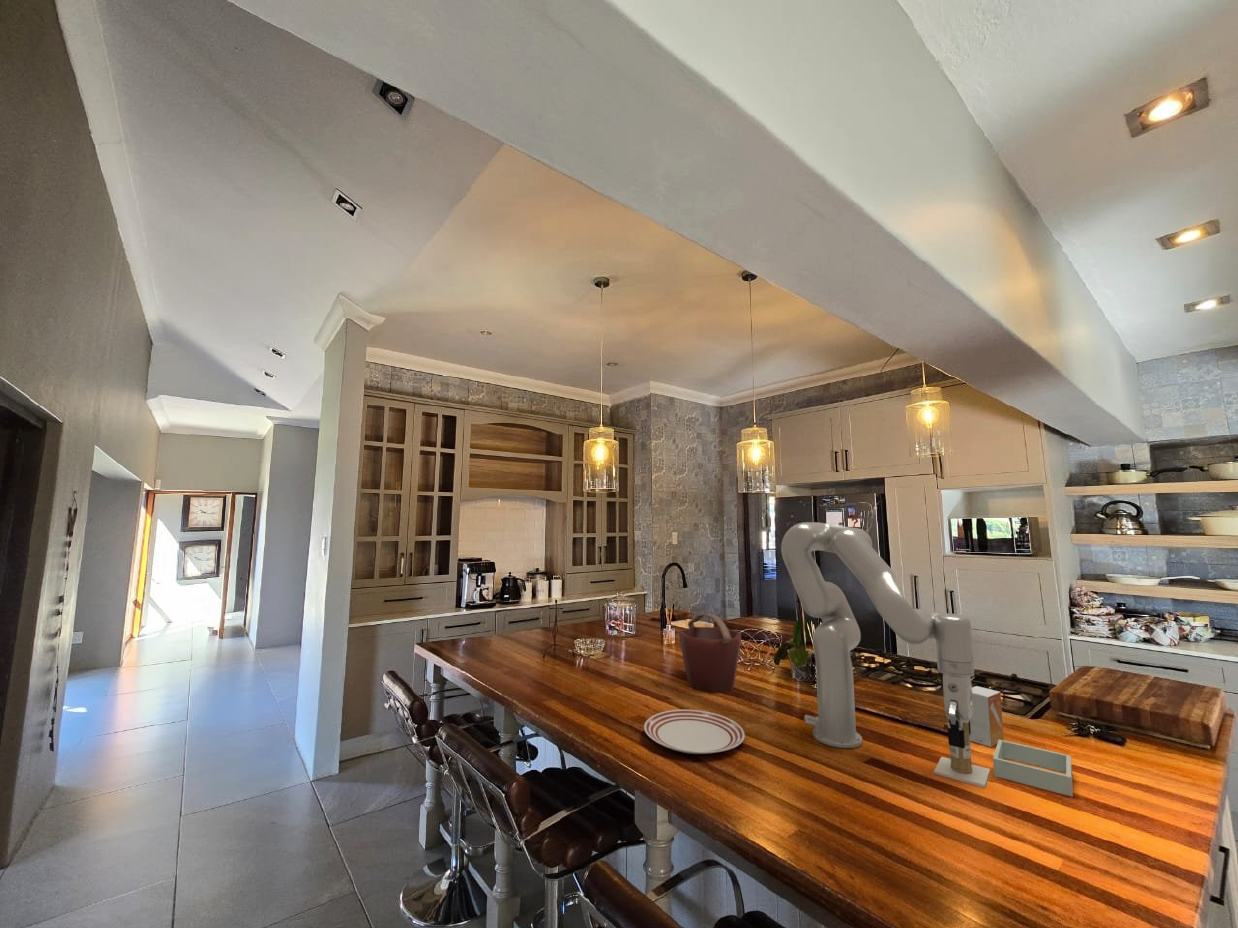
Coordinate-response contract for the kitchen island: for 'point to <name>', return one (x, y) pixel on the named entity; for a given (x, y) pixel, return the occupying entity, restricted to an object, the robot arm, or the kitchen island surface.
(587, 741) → the kitchen island surface
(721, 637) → the bucket
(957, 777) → the tile
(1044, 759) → the tray
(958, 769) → the sprinkles bottle
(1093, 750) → the kitchen island surface
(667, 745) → the dinner plate
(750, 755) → the kitchen island surface
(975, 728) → the small box
